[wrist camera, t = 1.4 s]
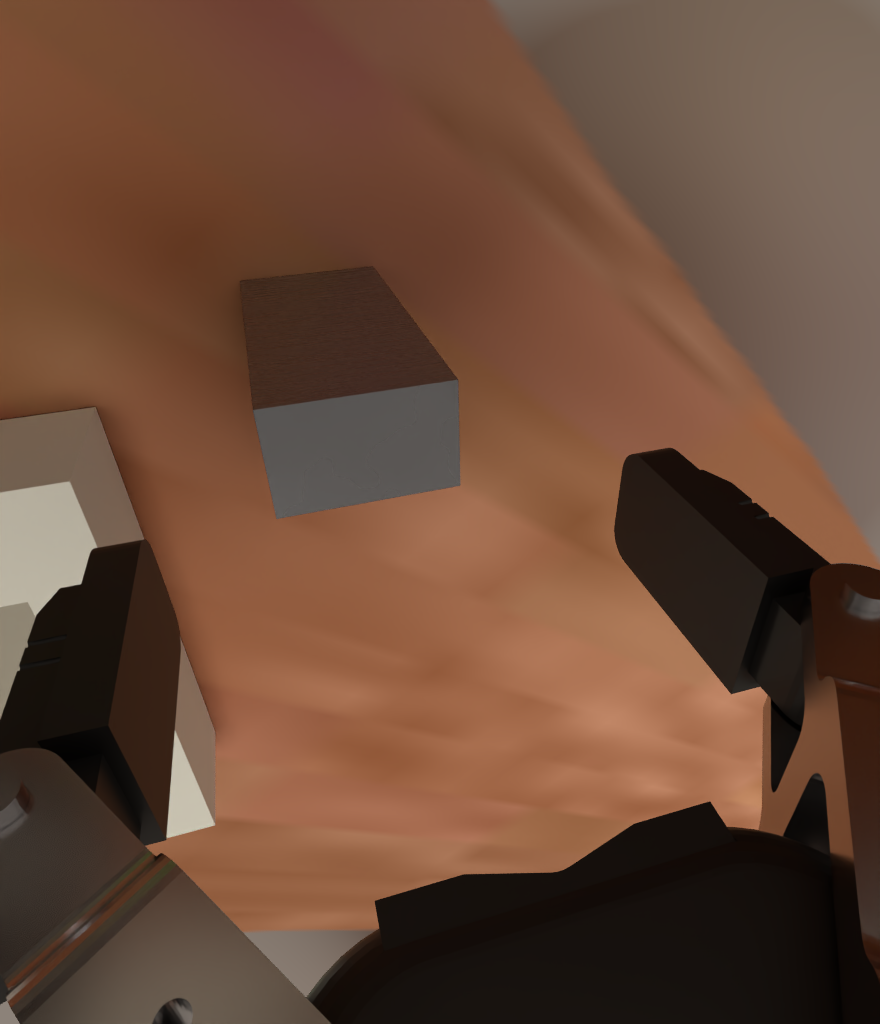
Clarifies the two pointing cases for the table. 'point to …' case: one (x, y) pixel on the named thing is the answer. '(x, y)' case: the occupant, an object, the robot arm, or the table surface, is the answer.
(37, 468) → the well block
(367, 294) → the grey rectangular block
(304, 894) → the table surface
